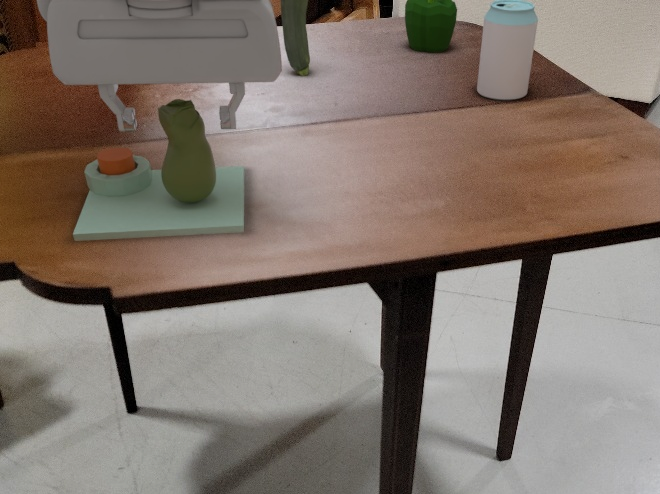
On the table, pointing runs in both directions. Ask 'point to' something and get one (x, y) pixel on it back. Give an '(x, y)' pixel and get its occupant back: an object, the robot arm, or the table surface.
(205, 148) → the pear
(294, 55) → the vegetable
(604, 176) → the table surface
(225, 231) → the pale green flat block
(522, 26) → the can
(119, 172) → the button
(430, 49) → the bell pepper
